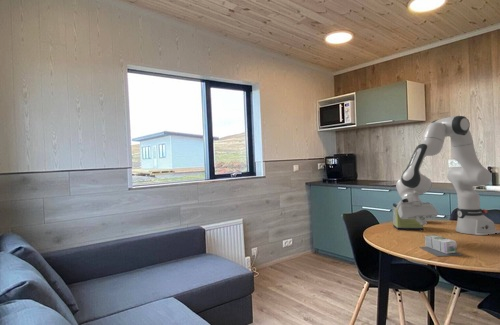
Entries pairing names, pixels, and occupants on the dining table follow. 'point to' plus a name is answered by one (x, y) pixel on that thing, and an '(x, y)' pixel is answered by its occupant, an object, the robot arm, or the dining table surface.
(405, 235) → the dining table surface
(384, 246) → the dining table surface
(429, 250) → the mat
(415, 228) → the protein box
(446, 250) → the syrup box
